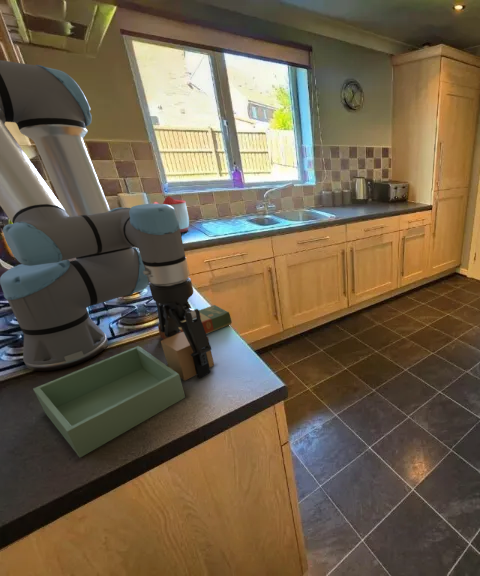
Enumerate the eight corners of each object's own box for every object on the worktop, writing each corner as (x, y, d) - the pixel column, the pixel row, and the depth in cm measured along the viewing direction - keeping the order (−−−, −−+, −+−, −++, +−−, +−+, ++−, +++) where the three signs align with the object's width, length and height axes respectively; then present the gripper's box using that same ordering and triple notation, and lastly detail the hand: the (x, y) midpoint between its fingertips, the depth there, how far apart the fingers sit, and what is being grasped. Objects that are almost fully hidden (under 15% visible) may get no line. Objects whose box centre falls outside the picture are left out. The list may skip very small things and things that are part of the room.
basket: (45, 413, 64) (32, 388, 61) (145, 367, 77) (138, 345, 75) (79, 458, 55) (67, 431, 53) (185, 397, 69) (179, 374, 66)
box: (168, 369, 77) (160, 340, 74) (198, 355, 82) (191, 327, 79) (184, 380, 74) (177, 351, 70) (214, 365, 79) (208, 337, 76)
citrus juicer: (175, 227, 200) (168, 193, 192) (198, 230, 195) (191, 195, 187) (151, 232, 186) (142, 196, 178) (175, 236, 181) (166, 199, 173)
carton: (160, 337, 89) (156, 323, 87) (217, 315, 101) (214, 303, 99) (174, 348, 85) (170, 334, 83) (232, 324, 97) (230, 311, 95)
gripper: (125, 273, 71) (151, 358, 80) (179, 300, 61) (202, 394, 70) (162, 264, 77) (182, 344, 86) (217, 287, 66) (234, 375, 75)
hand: (191, 366), depth 78 cm, fingers open, 10 cm apart
